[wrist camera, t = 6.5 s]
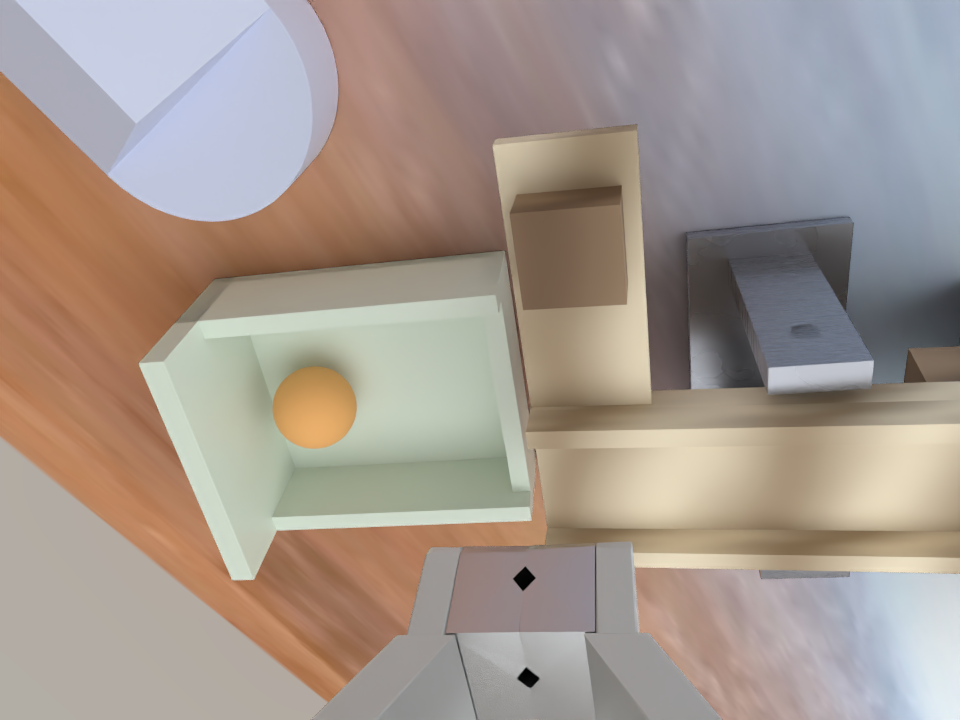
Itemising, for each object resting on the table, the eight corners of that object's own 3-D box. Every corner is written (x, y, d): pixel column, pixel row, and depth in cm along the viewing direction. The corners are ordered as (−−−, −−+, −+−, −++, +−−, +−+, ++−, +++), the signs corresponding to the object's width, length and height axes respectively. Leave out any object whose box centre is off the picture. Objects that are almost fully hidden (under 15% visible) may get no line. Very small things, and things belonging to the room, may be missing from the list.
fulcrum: (1028, 199, 29) (1175, 309, 22) (978, 440, 35) (1083, 591, 27) (686, 232, 31) (717, 343, 24) (691, 454, 37) (718, 599, 30)
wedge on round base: (-32, -36, 29) (232, 232, 33) (-183, -13, 23) (160, 306, 28) (111, -236, 25) (387, 96, 30) (-26, -265, 20) (341, 149, 24)
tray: (504, 250, 32) (487, 335, 27) (536, 462, 38) (527, 572, 32) (214, 278, 35) (138, 363, 29) (283, 475, 40) (232, 580, 34)
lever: (1177, 40, 21) (1336, 94, 16) (1057, 480, 29) (1140, 607, 24) (508, 114, 25) (476, 175, 20) (557, 482, 33) (542, 590, 28)
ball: (319, 399, 32) (245, 393, 33) (341, 469, 34) (270, 461, 35) (360, 352, 35) (290, 349, 36) (378, 420, 37) (310, 414, 38)
